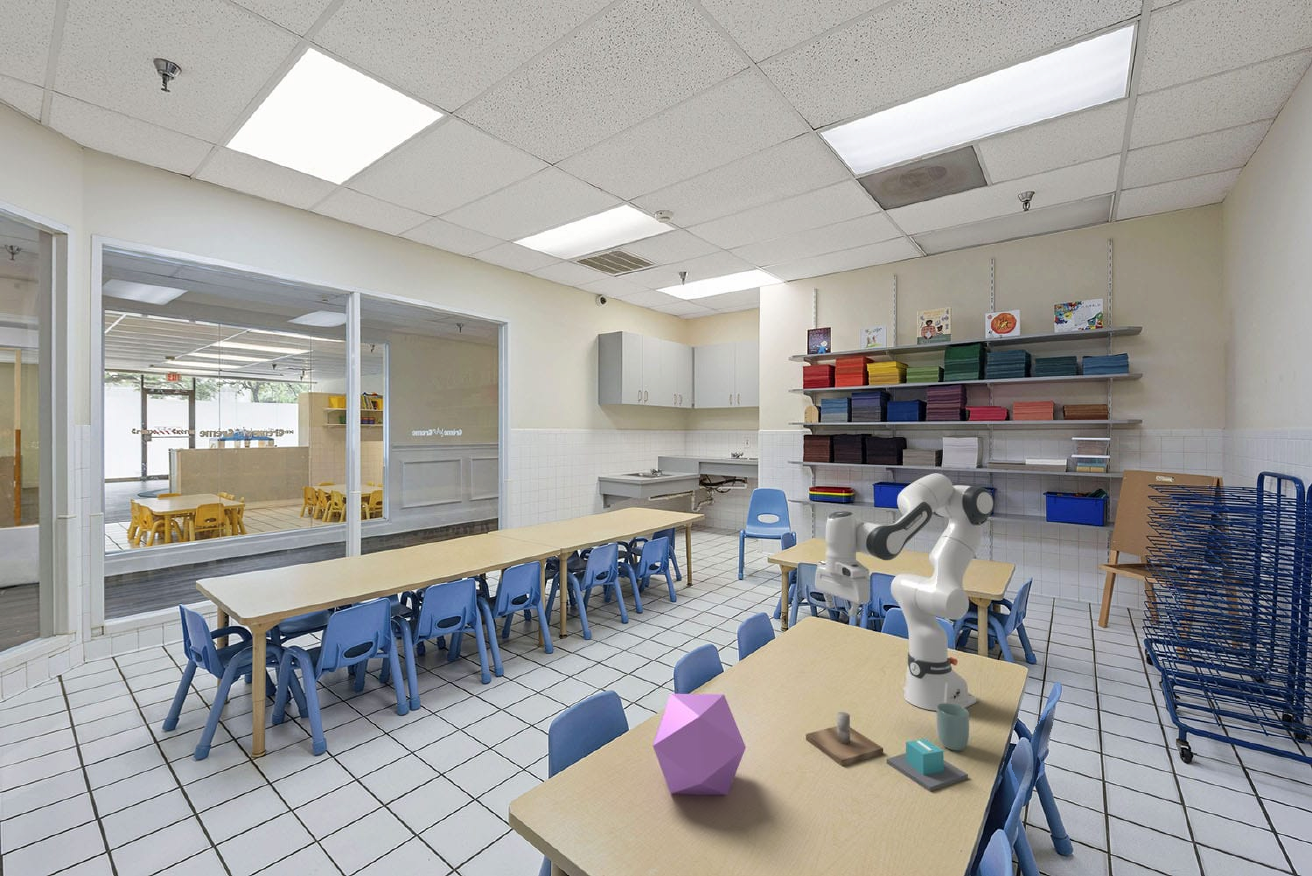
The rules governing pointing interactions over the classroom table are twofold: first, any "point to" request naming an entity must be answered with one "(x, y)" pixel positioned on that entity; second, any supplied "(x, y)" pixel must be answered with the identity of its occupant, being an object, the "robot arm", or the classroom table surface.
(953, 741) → the cup
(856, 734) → the post base
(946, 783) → the mat
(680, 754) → the icosahedron
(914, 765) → the teal cube
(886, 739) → the classroom table surface
